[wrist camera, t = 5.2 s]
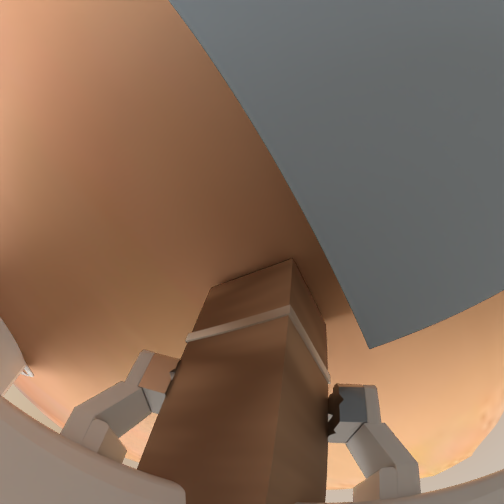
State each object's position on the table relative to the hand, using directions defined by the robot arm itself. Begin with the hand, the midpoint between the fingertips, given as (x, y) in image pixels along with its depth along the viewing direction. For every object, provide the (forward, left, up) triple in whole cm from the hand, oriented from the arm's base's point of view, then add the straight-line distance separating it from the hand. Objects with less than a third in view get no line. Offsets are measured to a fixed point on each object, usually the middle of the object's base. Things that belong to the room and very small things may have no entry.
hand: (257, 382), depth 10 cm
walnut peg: (0, 0, -4) cm, 4 cm away
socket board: (+13, +7, -5) cm, 15 cm away
